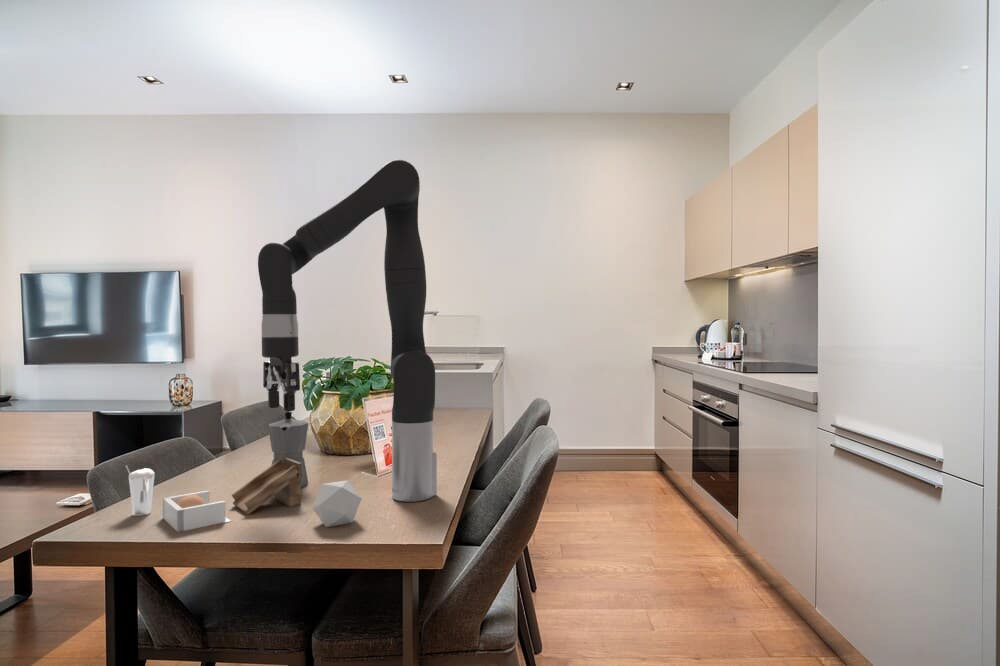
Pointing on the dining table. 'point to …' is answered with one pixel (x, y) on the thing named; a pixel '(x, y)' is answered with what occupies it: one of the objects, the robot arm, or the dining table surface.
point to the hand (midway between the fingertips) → (281, 409)
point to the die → (336, 503)
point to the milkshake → (141, 491)
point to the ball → (191, 501)
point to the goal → (193, 512)
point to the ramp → (272, 486)
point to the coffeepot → (289, 441)
